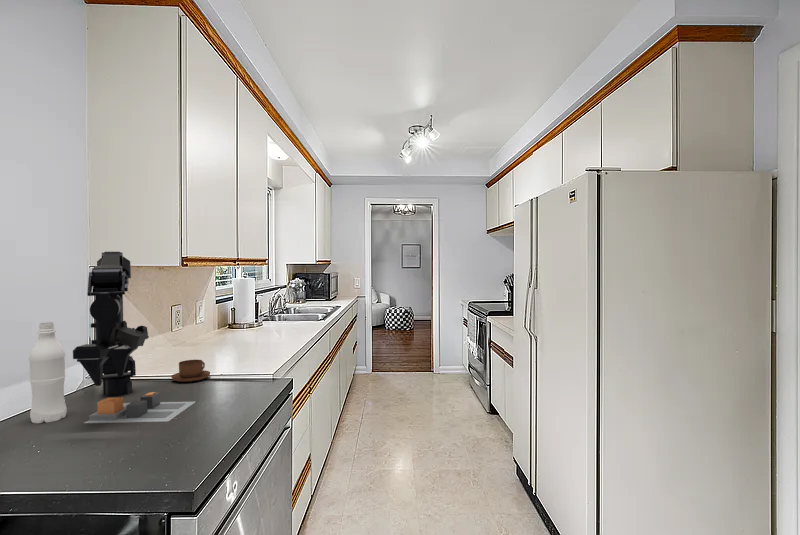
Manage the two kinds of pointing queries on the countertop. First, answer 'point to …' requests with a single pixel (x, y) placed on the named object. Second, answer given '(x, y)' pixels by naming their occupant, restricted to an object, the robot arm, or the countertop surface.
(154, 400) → the block
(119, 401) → the cap
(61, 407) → the water bottle
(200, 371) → the cup and saucer
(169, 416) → the panel
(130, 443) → the countertop surface
